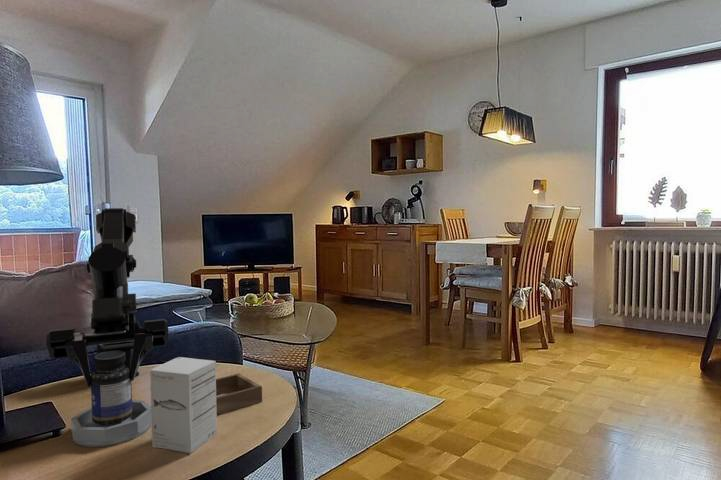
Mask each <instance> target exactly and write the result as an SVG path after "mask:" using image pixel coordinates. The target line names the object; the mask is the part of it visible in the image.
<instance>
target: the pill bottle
mask: <svg viewBox="0 0 721 480" xmlns="http://www.w3.org/2000/svg"><path fill="white" fill-rule="evenodd" d="M93 360H94V361H93V362H94V366H95V367H96V368H95V369H94V370H92V372H90V378H91V379H90V380H91V386H90V397H91V398H90V399H91V402H90V403H91V407H92V420H93V422H94V423H96V424H99V425H110V424H115V423H119V422H122V421H124V420H126V419H128V418H129V417H130V416H131V414H132V400H133V391H132V390H133V389H132V381H131V370H130V368H129V366H127V365H125V364H124V362H125V360H126V355H125V352H123V351H109V352H101V353H97V354H96V355H94V358H93Z"/></svg>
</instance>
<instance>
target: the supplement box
mask: <svg viewBox="0 0 721 480" xmlns="http://www.w3.org/2000/svg"><path fill="white" fill-rule="evenodd" d="M216 367H217V361H216V360H212V359H211V360H210V359H200V358H194V357H193V358H191V357H182V356H178V357H174V358H173V359H171V360H169V361H166V362H164V363H162V364H160V365H157V366H155V367H153V368H152V369H150V374H149V376H150V404H151V405H150V407H151V414H152V421H151V438H152V439H151V444H152V445H151V446H152V448H159V449H165V450H171V451H176V452H181V453H186V454H192V453H194V452H195V451H196V450H198V449H199V448H200V447H202V446H203V445H204V444H206V443H207V442H209V440H211V439H212V438H213V437H215V436H216V434H218V433H217V432H218V430H217V429H218V427H217V422H218V421H217V418H218V415H217V409H216V397H217V395H216V379H217V375H216V374H217V369H216Z"/></svg>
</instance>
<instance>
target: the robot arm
mask: <svg viewBox="0 0 721 480" xmlns="http://www.w3.org/2000/svg"><path fill="white" fill-rule="evenodd" d="M136 223H137V222H136V215H135V213H131V212H129V211H127V209H126V208H123V207H121V208H120V207H118V208H117V207H116V208H115V207H113V208H109V207H106V208H102V209H101V212H100V213H97V214H96V215H95V231H96V232H97V234H99V236H100V240H101V242H100V243H98V244H97V245H95V246H94V247H93V251H92V253H91V254H90V255H89V256H88V260H87V262H86V269H87V271H86V272H87V274H89V275H90V276H91V282H92V285H93V287H94V288H93V289H94V290H93V295H94V296H93V299H92V300H91V308H92V309H91V315H90V318H91V319H90V329H91V330H92V333H83V332H76V328H75V327H66V328H54V329H51V330H49V331H48V333H46V341H45V344H46V348H47V351H48V354H49V357H50V359H52V360H61V359H68V361H69V362H76V365H78V367H79V369H80V370H81V372H82V375H83V377H84V381H85V384H86V386H87V388H91V380H90V379H91V378H90V376H91V369H90V363H89V362H90V360H89V355H88V350H87V349H88V348H87V347H88V346H95V345H96V349H97V354H100V353H104V352H109V351H123V352H125V355H126V360H125V362H124V364H125V365H127V366H129V368H130V370H131V382H132V381H134V380H135V378H136V376H140V371H138V370H139V367H140V365H141V363H142V361H143V359H144V358H145V356H146V355H147V353H149V352H152V351H153V348H154V349H155V348H162V347H166V346H167V345H169V322H168V320H166V319H165V318H160V319H159V318H158V319H148V320H144V325H143V326H144V328H142V326H140V323H139V321H136V315H135V314H137V311H138V310H137V294H136V292H135V293H129V283H128V279H129V278H130V277H131V275H130V274H131V273H134V271H135V268H137V260H136V258H135V257H134V255H133V254H130V248H129V247H130V246H131V245H132V244H133V242H134V234H135V233H136V232H137V228H136V227H137V225H136Z"/></svg>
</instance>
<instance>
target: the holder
mask: <svg viewBox="0 0 721 480" xmlns="http://www.w3.org/2000/svg"><path fill="white" fill-rule="evenodd" d="M236 389H238V391H237V390H236ZM232 390H233V391H234V392H232ZM225 392H226V393H228V392H229V393H228V394H225ZM230 392H231V393H230ZM221 393H222V394H223V395H221ZM218 395H219V396H218ZM259 403H263V386H262V385H260V384H258V383H256V382H254V381H253V380H252V379H249V378H248V377H246V376H244V375H242V374H241V373H239V372H238V373H235V374H231V375H227V376H223V377H219V378H216V409H217V416H218V414H219V415H222V414H225V413H228V411H229V412H232V411H234V410H235V411H236V410H239V409H241V408H245V407H248V406H253V405H256V404H259Z"/></svg>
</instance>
